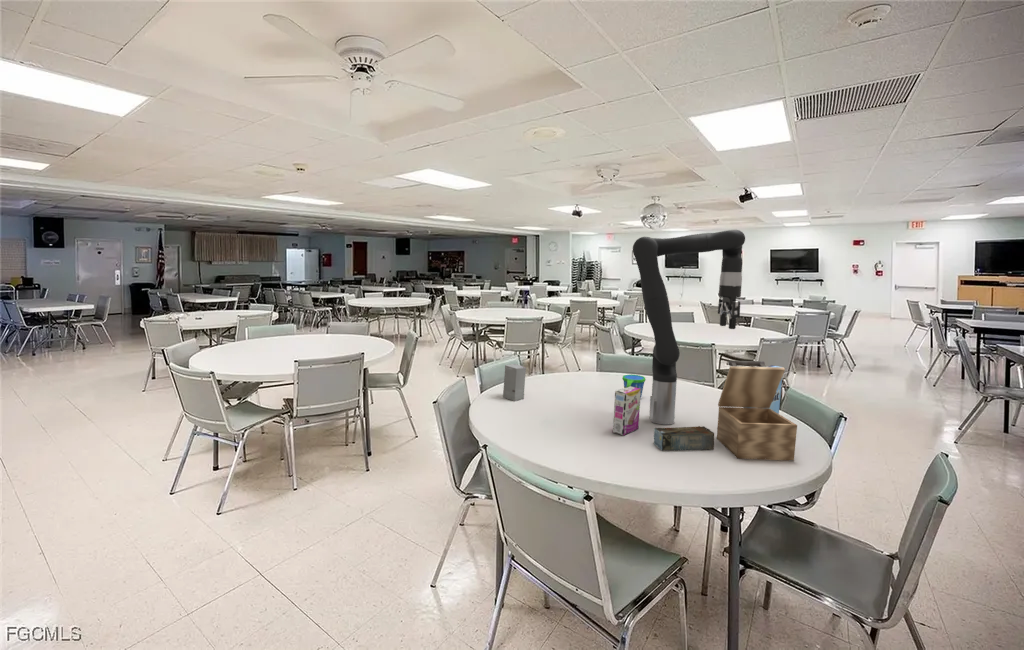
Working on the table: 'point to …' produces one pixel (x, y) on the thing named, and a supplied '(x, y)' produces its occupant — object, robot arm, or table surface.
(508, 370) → the skincare box
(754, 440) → the wooden box
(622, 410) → the candy bar box
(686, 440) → the beverage carton
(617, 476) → the table surface
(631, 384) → the snack cup
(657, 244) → the robot arm
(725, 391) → the lid
